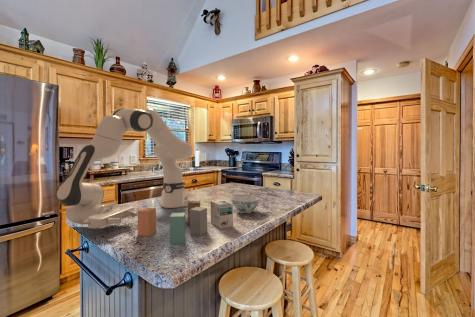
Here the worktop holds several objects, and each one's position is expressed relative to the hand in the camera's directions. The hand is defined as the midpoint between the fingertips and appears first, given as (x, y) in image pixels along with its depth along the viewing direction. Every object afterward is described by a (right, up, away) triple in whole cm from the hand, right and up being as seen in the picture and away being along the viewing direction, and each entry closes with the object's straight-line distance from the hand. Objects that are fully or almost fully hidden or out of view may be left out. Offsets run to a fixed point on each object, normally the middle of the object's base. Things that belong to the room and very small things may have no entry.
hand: (128, 217), depth 98 cm
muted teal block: (+23, -6, -10) cm, 26 cm away
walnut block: (+25, -5, +11) cm, 28 cm away
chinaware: (+50, -5, +30) cm, 59 cm away
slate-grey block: (+30, -6, -1) cm, 30 cm away
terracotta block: (+9, -6, -2) cm, 11 cm away
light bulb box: (+38, -6, +9) cm, 40 cm away
